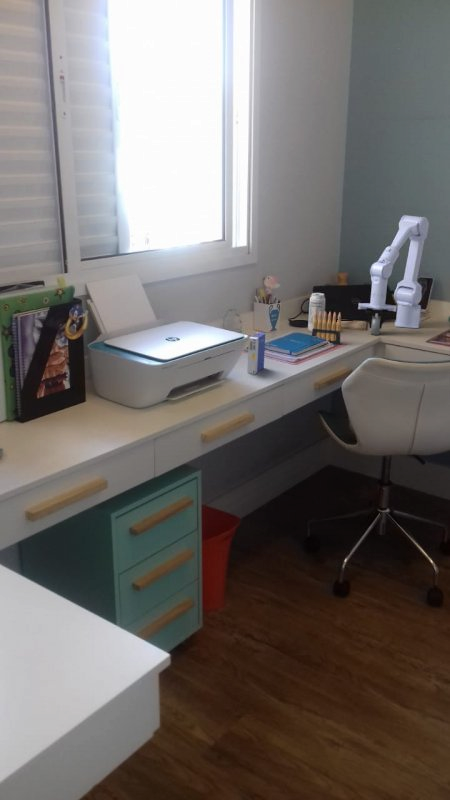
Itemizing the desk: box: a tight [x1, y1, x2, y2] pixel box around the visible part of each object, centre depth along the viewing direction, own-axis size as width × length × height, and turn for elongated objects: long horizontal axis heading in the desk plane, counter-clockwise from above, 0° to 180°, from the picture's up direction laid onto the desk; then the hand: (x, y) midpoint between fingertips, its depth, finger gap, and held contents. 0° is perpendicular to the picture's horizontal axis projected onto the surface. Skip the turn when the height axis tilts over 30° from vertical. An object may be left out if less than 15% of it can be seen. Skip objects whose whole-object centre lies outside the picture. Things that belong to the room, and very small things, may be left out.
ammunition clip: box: [311, 310, 342, 345], centre depth 272 cm, size 11×2×12 cm, turn 73°
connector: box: [370, 312, 381, 336], centre depth 287 cm, size 3×6×8 cm, turn 169°
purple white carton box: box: [246, 331, 266, 375], centre depth 237 cm, size 8×3×12 cm, turn 155°
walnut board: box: [336, 320, 367, 331], centre depth 299 cm, size 13×12×1 cm
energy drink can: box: [307, 292, 326, 334], centre depth 286 cm, size 6×6×15 cm
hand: (375, 327), depth 287 cm, fingers closed on connector, 3 cm apart
